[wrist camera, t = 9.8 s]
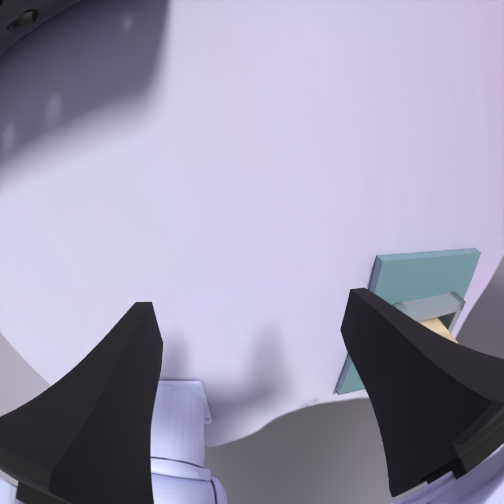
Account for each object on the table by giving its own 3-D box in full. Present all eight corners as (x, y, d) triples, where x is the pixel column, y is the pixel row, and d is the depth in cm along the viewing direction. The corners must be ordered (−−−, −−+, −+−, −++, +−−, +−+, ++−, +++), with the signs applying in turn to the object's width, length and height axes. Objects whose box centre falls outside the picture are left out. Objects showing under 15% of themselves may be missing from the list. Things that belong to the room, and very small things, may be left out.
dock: (423, 364, 30) (433, 379, 27) (335, 388, 28) (343, 408, 26) (475, 248, 22) (492, 261, 19) (376, 255, 20) (395, 274, 18)
